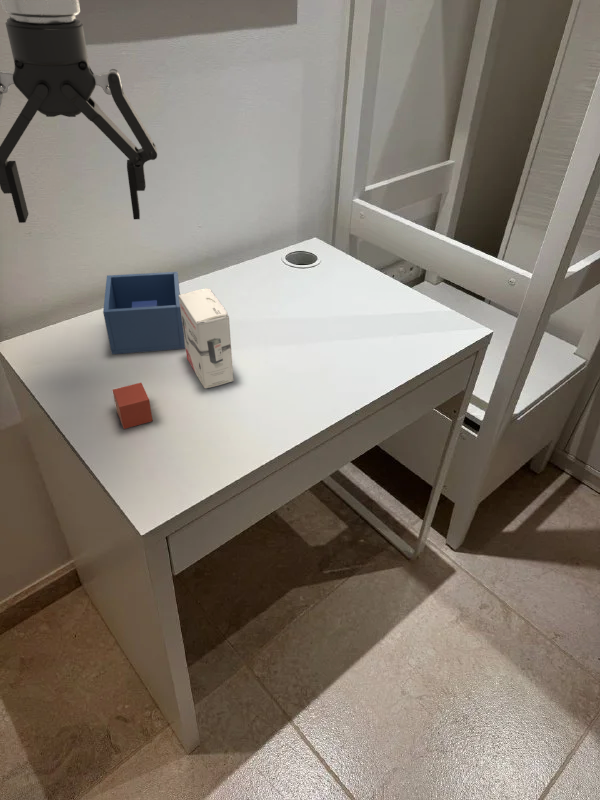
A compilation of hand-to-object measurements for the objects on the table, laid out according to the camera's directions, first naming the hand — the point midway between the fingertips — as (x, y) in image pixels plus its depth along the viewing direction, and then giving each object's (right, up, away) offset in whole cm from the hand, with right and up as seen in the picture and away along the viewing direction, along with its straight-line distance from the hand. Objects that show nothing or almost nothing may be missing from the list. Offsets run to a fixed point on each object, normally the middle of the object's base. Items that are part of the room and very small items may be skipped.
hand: (81, 217), depth 73 cm
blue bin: (+2, -12, +23) cm, 26 cm away
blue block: (+2, -11, +23) cm, 25 cm away
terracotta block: (+5, -25, +7) cm, 27 cm away
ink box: (+14, -19, +16) cm, 28 cm away
